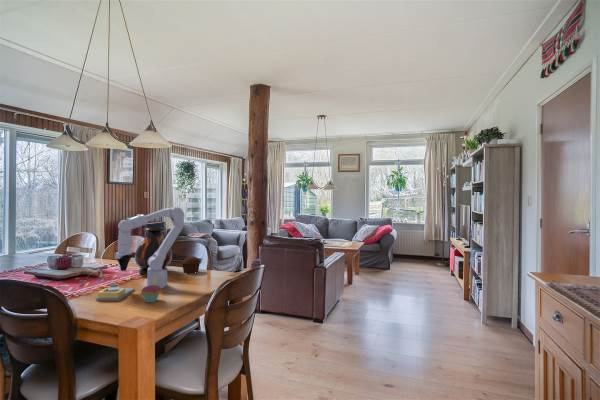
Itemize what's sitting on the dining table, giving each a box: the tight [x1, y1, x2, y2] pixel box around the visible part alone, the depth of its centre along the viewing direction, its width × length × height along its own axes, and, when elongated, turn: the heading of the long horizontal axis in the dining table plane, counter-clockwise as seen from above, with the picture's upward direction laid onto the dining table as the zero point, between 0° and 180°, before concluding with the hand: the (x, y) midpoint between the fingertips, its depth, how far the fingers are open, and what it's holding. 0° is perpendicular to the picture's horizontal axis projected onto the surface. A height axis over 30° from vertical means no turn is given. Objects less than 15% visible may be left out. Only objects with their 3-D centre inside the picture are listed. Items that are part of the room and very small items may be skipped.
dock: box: [96, 287, 135, 302], centre depth 152 cm, size 10×16×4 cm, turn 5°
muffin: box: [181, 255, 201, 274], centre depth 203 cm, size 12×11×10 cm
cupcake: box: [140, 274, 162, 303], centre depth 146 cm, size 9×8×12 cm
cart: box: [107, 283, 120, 292], centre depth 148 cm, size 6×4×4 cm
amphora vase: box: [134, 226, 173, 275], centre depth 200 cm, size 22×22×28 cm
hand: (123, 270), depth 161 cm, fingers closed
